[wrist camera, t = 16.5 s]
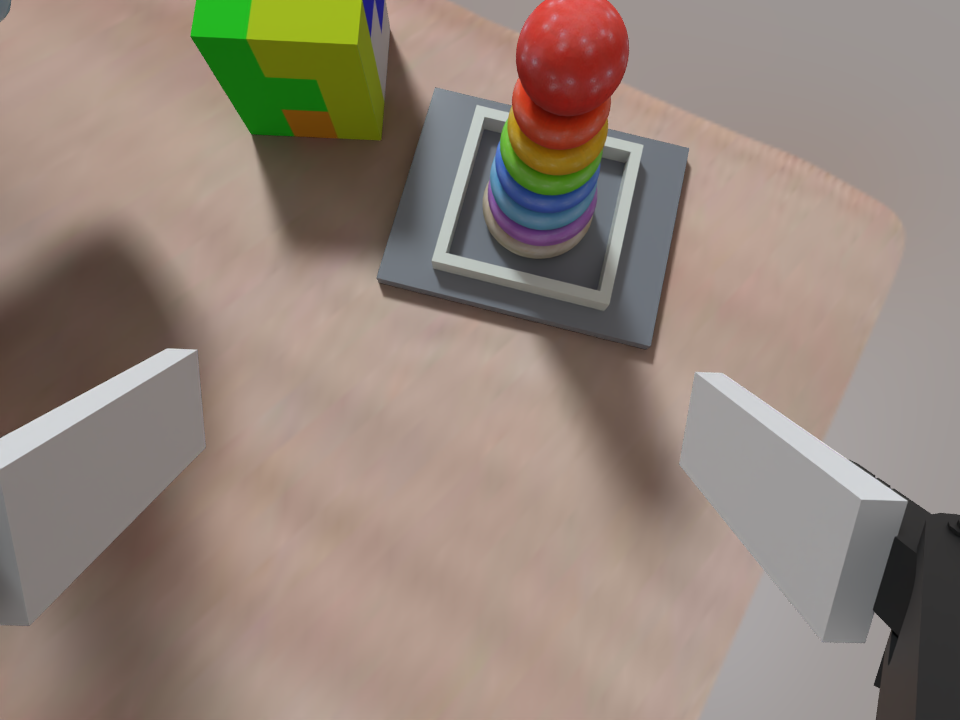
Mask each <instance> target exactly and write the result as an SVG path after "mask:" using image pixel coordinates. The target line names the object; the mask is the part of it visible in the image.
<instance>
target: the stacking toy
mask: <svg viewBox="0 0 960 720" xmlns="http://www.w3.org/2000/svg"><path fill="white" fill-rule="evenodd" d="M628 55H629V40H628V35H627V30H626V27H625V25H624V22H623V20H622V18H621V16H620V14H619V13H618V12H617V10H616V9H615V8H614V7H613V5H612V4H611V3H610V2H608V1H607V0H545V1H544V2H542V3H541V4H540V5H539V6H537V7H536V9H535V10H534V11H533V12H532V13H531V14H530V16H529V17H528V19H527V20H526V22H525V24H524V26H523V28H522V30H521V33H520V36H519V39H518V43H517V49H516V65H517V71H518V76H519V78H518V80H517V82H516V85H515V88H514V91H513V97H512V107H511V109H510V112H509V116H508V119H507V121H506V122H505V124H504V127H503V130H502V133H501V138H500V141H499V144H498V146H497V150H496V155H495V157H494V160H493V163H492V166H491V171H490V180H489V181H488V183H487V186H486V188H485V191H484V196H483V215H484V219H485V222H486V225H487V227H488V229H489V231H490V233H491V234H492V235H493V237H494V238H495V239H496V240H497V241H498V242H499V243H500V244H501V245H502V246H503V247H505V248H506V249H507V250H509V251H511V252H513V253H515V254H517V255H520V256H523V257H527V258H533V259H545V258H552V257H555V256H559V255H561V254H563V253H565V252H567V251H569V250H570V249H572V248H573V247H574V246H576V245H577V244H578V243H579V242H580V241H581V239H582V238H583V237H584V236H585V234H586V232H587V231H588V229H589V227H590V224H591V221H592V218H593V213H594V211H595V208H596V203H597V180H598V176H599V173H600V161H601V158H602V154H603V147H604V145H605V142H606V139H607V134H608V119H607V118H608V115H609V111H610V105H611V95H612V94H613V93H614V91H615V90H616V89H617V87H618V86H619V84H620V82H621V80H622V78H623V75H624V73H625V70H626V67H627V62H628Z"/></svg>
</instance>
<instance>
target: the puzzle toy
mask: <svg viewBox="0 0 960 720" xmlns="http://www.w3.org/2000/svg"><path fill="white" fill-rule="evenodd" d="M191 38H192V40H193V41H194V43H195V44H196V46H197V48H198V49H199V51H200V52H201V54H202V56H203V57H204V59H205V61H206V62H207V64H208V65H209V67H210V69H211V70H212V72H213V73H214V75H215V77H216V78H217V80H218V81H219V83H220V85H221V86H222V88H223V90H224V91H225V93H226V94H227V96H228V98H229V99H230V101H231V102H232V104H233V106H234V107H235V109H236V110H237V112H238V114H239V115H240V117H241V119H242V120H243V122H244V123H245V125H246V127H247V128H248V130H249V131H250V133H251V134H254V135H275V136H297V137H318V138H339V139H361V140H381V138H382V126H383V114H384V101H385V89H386V77H387V64H388V52H389V40H390V25H389V19H388V13H387V7H386V1H385V0H196V5H195V12H194V18H193V24H192V30H191Z"/></svg>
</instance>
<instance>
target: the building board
mask: <svg viewBox="0 0 960 720" xmlns="http://www.w3.org/2000/svg"><path fill="white" fill-rule="evenodd" d="M511 107H512V106H511V105H507V104H503V103H498V102H494V101H490V100H486V99H482V98H478V97H473V96H469V95H465V94H461V93H457V92H452V91H448V90H444V89H440V88H436V87H435V90H434V93H433V96H432V100H431V103H430V106H429V109H428V113H427V116H426V119H425V122H424V126H423V129H422V132H421V135H420V138H419V142H418V145H417V148H416V151H415V155H414V158H413V161H412V164H411V168H410V171H409V174H408V177H407V181H406V184H405V187H404V190H403V194H402V197H401V200H400V203H399V207H398V210H397V213H396V216H395V219H394V223H393V226H392V229H391V232H390V236H389V239H388V242H387V245H386V249H385V252H384V255H383V258H382V262H381V265H380V268H379V271H378V275H377V280H378V282H379V283H383V284H387V285H391V286H395V287H399V288H403V289H407V290H411V291H415V292H419V293H423V294H427V295H431V296H435V297H439V298H443V299H447V300H451V301H455V302H459V303H463V304H467V305H471V306H475V307H479V308H483V309H487V310H490V311H494V312H498V313H502V314H506V315H510V316H514V317H518V318H522V319H526V320H530V321H534V322H538V323H542V324H546V325H550V326H554V327H558V328H562V329H566V330H570V331H574V332H578V333H582V334H586V335H590V336H594V337H598V338H602V339H606V340H610V341H614V342H618V343H622V344H626V345H630V346H634V347H638V348H642V349H648V348H649V347H650V346H651V341H652V336H653V331H654V326H655V321H656V316H657V311H658V306H659V301H660V295H661V290H662V285H663V280H664V275H665V270H666V265H667V260H668V255H669V249H670V244H671V239H672V234H673V229H674V224H675V219H676V214H677V208H678V203H679V198H680V193H681V188H682V183H683V178H684V173H685V168H686V162H687V157H688V152H689V148H686V147H682V146H678V145H674V144H669V143H665V142H661V141H657V140H653V139H649V138H644V137H640V136H636V135H632V134H628V133H623V132H619V131H615V130H611V129H608V134H607V139H606V142H605V145H604V147H603V154H602V158H601V161H600V173H599V176H598V180H597V203H596V208H595V211H594V213H593V218H592V221H591V224H590V227H589V229H588V231H587V232H586V234H585V236H584V237H583V238H582V239H581V241H580V242H579V243H578V244H577V245H576V246H574V247H573V248H572V249H570V250H569V251H567V252H565V253H563V254H561V255H559V256H555V257H552V258H545V259H533V258H527V257H523V256H520V255H517V254H515V253H513V252H511V251H509V250H507V249H506V248H505V247H503V246H502V245H501V244H500V243H499V242H498V241H497V240H496V239H495V238H494V237H493V235H492V234H491V233H490V231H489V229H488V227H487V225H486V222H485V219H484V215H483V196H484V191H485V188H486V186H487V183H488V181H489V180H490V171H491V166H492V163H493V160H494V157H495V155H496V150H497V146H498V144H499V141H500V138H501V133H502V130H503V127H504V124H505V122H506V121H507V119H508V116H509V112H510V109H511Z"/></svg>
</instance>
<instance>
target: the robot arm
mask: <svg viewBox="0 0 960 720" xmlns="http://www.w3.org/2000/svg"><path fill="white" fill-rule="evenodd" d="M10 6H11V0H0V21H2V20H3V19H4V18H5V17H6V16H7V14H8V13H9V11H10ZM205 448H206V443H205V432H204V420H203V408H202V397H201V385H200V373H199V362H198V350H192V349H170V348H167V349H165V350H163V351H161V352H159V353H158V354H156V355H154V356H152V357H150V358H148V359H146V360H145V361H143V362H141V363H139V364H137V365H135V366H133V367H132V368H130V369H128V370H126V371H124V372H122V373H120V374H119V375H117V376H115V377H113V378H111V379H109V380H107V381H106V382H104V383H102V384H100V385H98V386H96V387H94V388H93V389H91V390H89V391H87V392H85V393H83V394H81V395H80V396H78V397H76V398H74V399H72V400H70V401H68V402H67V403H65V404H63V405H61V406H59V407H57V408H55V409H54V410H52V411H50V412H48V413H46V414H44V415H42V416H41V417H39V418H37V419H35V420H33V421H31V422H29V423H28V424H26V425H24V426H22V427H20V428H18V429H16V430H15V431H13V432H11V433H8V434H6V435H4V436H2V437H0V625H17V626H30V625H31V624H32V623H33V622H34V621H35V620H36V619H37V618H38V617H39V616H40V615H41V614H42V613H43V612H44V611H45V610H46V609H47V608H48V607H49V606H50V605H51V604H52V602H53V601H54V600H55V599H56V598H57V597H58V596H59V595H60V594H61V593H62V592H63V591H64V590H65V589H66V588H67V587H68V586H69V585H70V584H71V583H72V582H73V581H74V580H75V579H76V578H77V577H78V576H79V575H80V574H81V573H82V572H83V571H84V570H85V569H86V568H87V567H88V566H89V565H90V564H91V563H92V562H93V561H94V560H95V559H96V558H97V557H98V556H99V555H100V554H101V553H102V552H103V551H104V550H105V549H106V548H107V547H108V546H109V545H110V544H111V543H112V542H113V541H114V540H115V539H116V538H117V537H118V536H119V535H120V534H121V533H122V532H123V531H124V530H125V529H126V528H127V527H128V526H129V525H130V524H131V523H132V522H133V521H134V520H135V519H136V518H137V517H138V515H139V514H140V513H141V512H142V511H143V510H144V509H145V508H146V507H147V506H148V505H149V504H150V503H151V502H152V501H153V500H154V499H155V498H156V497H157V496H158V495H159V494H160V493H161V492H162V491H163V490H164V489H165V488H166V487H167V486H168V485H169V484H170V483H171V482H172V481H173V480H174V479H175V478H176V477H177V476H178V475H179V474H180V473H181V472H182V471H183V470H184V469H185V468H186V467H187V466H188V465H189V464H190V463H191V462H192V461H193V460H194V459H195V458H196V457H197V456H198V455H199V454H200V453H201V452H202V451H203V450H204V449H205ZM679 465H680V466H681V467H682V469H683V470H684V471H685V472H686V474H687V475H688V476H689V477H690V479H691V480H692V481H693V482H694V484H695V485H696V486H697V487H698V489H699V490H700V491H701V492H702V494H703V495H704V496H705V497H706V499H707V500H708V501H709V502H710V504H711V505H712V506H713V507H714V509H715V510H716V511H717V512H718V513H719V515H720V516H721V517H722V518H723V520H724V521H725V522H726V523H727V525H728V526H729V527H730V528H731V530H732V531H733V532H734V533H735V535H736V536H737V537H738V538H739V540H740V541H741V542H742V543H743V545H744V546H745V547H746V548H747V550H748V551H749V552H750V553H751V555H752V556H753V557H754V558H755V560H756V561H757V562H758V563H759V564H760V566H761V567H762V568H763V569H764V571H765V572H766V573H767V574H768V576H769V577H770V578H771V579H772V581H773V582H774V583H775V584H776V586H777V587H778V588H779V589H780V591H781V592H782V593H783V594H784V595H785V597H786V598H787V599H788V601H789V602H790V603H791V604H792V605H793V607H794V608H795V609H796V610H797V612H798V613H799V614H800V615H801V617H802V618H803V619H804V620H805V622H806V623H807V624H808V625H809V627H810V628H811V629H812V630H813V631H814V633H815V634H816V635H817V636H818V638H819V639H820V640H821V642H835V643H865V642H866V638H867V635H868V632H869V628H870V625H871V622H872V618H873V615H874V612H875V613H876V614H877V615H878V616H879V617H880V618H881V619H882V620H883V621H884V622H885V623H886V624H887V625H888V626H889V627H890V628H891V632H890V636H889V639H888V642H887V645H886V648H885V651H884V654H883V658H882V661H881V664H880V667H879V670H878V673H877V676H876V680H875V683H874V686H876V687H878V688H880V692H879V700H878V707H877V715H876V720H960V515H957V514H946V513H938V514H930V513H929V512H927V511H926V510H925V509H923V508H922V507H920V506H919V505H917V504H916V503H914V502H913V501H911V500H909V498H907V497H906V496H904V495H903V494H901V493H900V492H898V491H897V490H895V489H891V488H890V485H888V484H887V483H885V482H884V481H882V480H880V479H879V478H875V475H873V474H872V473H870V472H869V471H867V470H866V469H865V468H863V467H862V466H860V465H859V464H857V463H855V462H853V461H851V460H848V459H846V458H845V457H843V456H842V455H841V454H839V453H838V452H836V451H835V450H833V449H832V448H830V447H829V446H827V445H826V444H825V443H823V442H822V441H820V440H819V439H817V438H816V437H814V436H813V435H812V434H810V433H809V432H807V431H806V430H804V429H803V428H801V427H800V426H799V425H797V424H796V423H794V422H793V421H791V420H790V419H788V418H787V417H786V416H784V415H783V414H781V413H780V412H778V411H777V410H775V409H774V408H772V407H771V406H770V405H768V404H767V403H765V402H764V401H762V400H761V399H759V398H758V397H757V396H755V395H754V394H752V393H751V392H749V391H748V390H746V389H745V388H744V387H742V386H741V385H739V384H738V383H736V382H735V381H733V380H732V379H731V378H729V377H728V376H726V375H725V374H723V373H708V372H695V375H694V381H693V387H692V393H691V398H690V404H689V410H688V416H687V422H686V428H685V433H684V439H683V445H682V451H681V457H680V463H679Z"/></svg>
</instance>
